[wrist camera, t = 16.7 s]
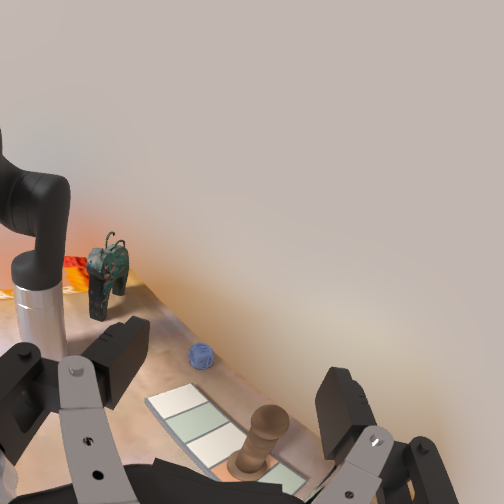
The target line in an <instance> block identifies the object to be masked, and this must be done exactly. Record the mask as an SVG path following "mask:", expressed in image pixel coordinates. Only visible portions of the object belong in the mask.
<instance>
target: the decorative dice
mask: <svg viewBox="0 0 504 504" xmlns="http://www.w3.org/2000/svg"><path fill="white" fill-rule="evenodd" d="M189 360H190V363H191V365H192V366H193V367H195V368H197V369H206V368H208V367H210V366H211V365H212V364H213V362H214V353H213V350H212V348H211V347H210V346H208V345H206V344H203V343H198V344H195V345H193V346H192V347H191V348H190V350H189Z"/></svg>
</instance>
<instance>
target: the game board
mask: <svg viewBox="0 0 504 504" xmlns="http://www.w3.org/2000/svg"><path fill="white" fill-rule="evenodd" d="M145 404H146V406H147V407H148V408H149V410H150V411H151V412H152V413H153V415H154V416H155V417H156V419H157V420H158V421H159V422H160V424H161V425H162V426H163V427H164V429H165V430H166V431H167V432H168V433H169V435H170V436H171V437H172V438H173V439H174V441H175V442H176V443H177V444H178V445H179V446H180V447H181V448H182V450H183V451H184V452H185V453H186V454H187V455H188V456H189V457H190V458H191V459H192V460H193V461H194V463H195V464H196V465H197V466H198V467H199V468H200V469H201V470H202V471H203V472H204V473H205V474H206V475H207V476H208V477H209V478H210V479H213V480H215V481H219V482H237V481H240V480H238V479H236V478H234V477H233V476H232V475H231V474H230V473H229V471H228V469H227V461H228V458H229V456H230V455H231V454H232V453H233V452H235V451H237V450H241V448H242V446H243V443H244V441H245V439H246V437H247V435H248V434H246V433H245V432H244V431H243V430H242V429H240V428H239V427H238V426H237V425H236V424H235V423H234V422H232V421H231V420H230V419H229V418H228V417H227V416H226V415H225V414H224V413H223V412H221V411H220V410H219V409H218V408H217V407H216V406H215V405H214V404H213V403H212V402H211V401H210V400H209V399H208V398H207V397H206V396H205V395H204V394H203V393H202V392H201V391H200V390H199V389H198V388H197V387H196V386H195V385H194V384H193V383H190V384H187V385H184V386H181V387H179V388H176V389H173V390H170V391H167V392H164V393H161V394H158V395H154V396H151V397H148V398H145ZM266 462H267V470H266V472H265V474H264V475H263V476H262V477H261V478H260V479H259V480H257V481H258V482H266V483H276V484H282V488H283V492H285V493H288V494H290V495H294V494H295V493H296V492H297V491H298V490H299V489H300V488H301V487H302V486H303V485H304V484H305V483H306V482H307V481H308V480H307V479H306V478H304V477H303V476H301V475H300V474H298V473H297V472H296V471H294V470H293V469H291V468H290V467H289V466H287V465H286V464H284V463H283V462H282V461H280V460H279V459H278V458H276V457H275V456H274V455H272V454H271V453H269V455H268V456H267V458H266Z"/></svg>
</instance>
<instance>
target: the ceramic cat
mask: <svg viewBox="0 0 504 504" xmlns="http://www.w3.org/2000/svg"><path fill="white" fill-rule="evenodd" d="M112 233H113V236H114V235H115V232H110V233H109V234H108V235H107V238H106V249H103V248H94V249H92V251H91V252H90V254H89V256H88V259H87V267H86V269H87V272H88V274H89V291H88V293H89V312H90V318H92V319H95V320H98V321H101V322H102V321H103V320H104V319H105V317H106V313H107V306H108V299H109V294H110V291H111V288H112V293H113V294H115V295H118V296H122V295H123V294H124V292H125V286H126V282H127V277H128V271H129V256H128V251H127V249H126V248H125V241H124V240H119V241H117V243H116V244H112V245H109V246H108V247H107V240H108V238H109V236H110V234H112ZM119 242H123V244H124V247H123V246H119V245H117V244H118V243H119Z"/></svg>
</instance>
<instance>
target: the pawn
mask: <svg viewBox="0 0 504 504" xmlns="http://www.w3.org/2000/svg"><path fill="white" fill-rule="evenodd" d="M288 427H289V417H288V414H287V413H286V411H285V410H284V409H282V408H281V407H279V406H276V405H265V406H262V407H260V408H258V409H257V410H256V411H255V412H254V414H253V415H252V418H251V428H250V430H249V433H248V435H247V437H246V439H245V441H244V443H243V446H242V448H241V450H237V451H235V452H233V453H232V454H231V455H230V456H229V458H228V461H227V469H228V471H229V473H230V474H231V475H232V476H233V477H234V478H236V479H238V480H240V481H257V480H259V479H260V478H261V477H262V476H263V475H264V474H265V472H266V470H267V462H266V458H267V456H268V455H269V453H270V452H271V450H272V448H273V447H274V445H275V443H276V442H277V440H278V438H279V437H281V436H282V435H283V434H285V432H286V431H287V429H288Z"/></svg>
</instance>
